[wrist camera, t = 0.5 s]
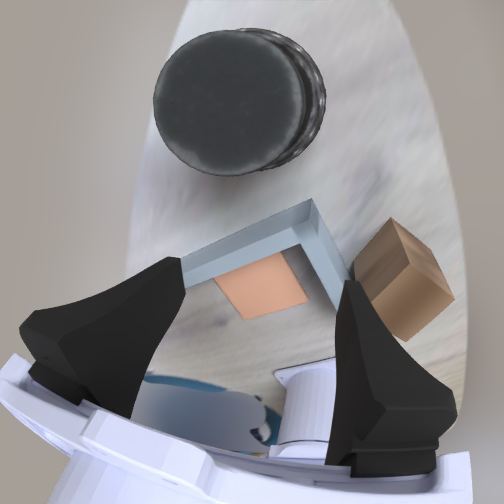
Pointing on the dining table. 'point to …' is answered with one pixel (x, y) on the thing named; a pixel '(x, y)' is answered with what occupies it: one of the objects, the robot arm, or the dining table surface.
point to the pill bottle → (239, 101)
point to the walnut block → (402, 280)
